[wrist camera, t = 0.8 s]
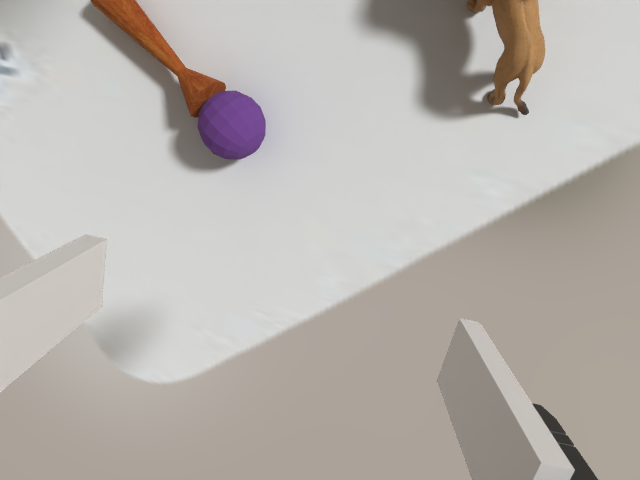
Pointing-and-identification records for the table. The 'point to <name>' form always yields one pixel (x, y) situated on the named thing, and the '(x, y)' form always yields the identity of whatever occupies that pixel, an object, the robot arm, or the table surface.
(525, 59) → the lion figurine
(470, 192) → the table surface
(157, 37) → the purple and orange maraca
